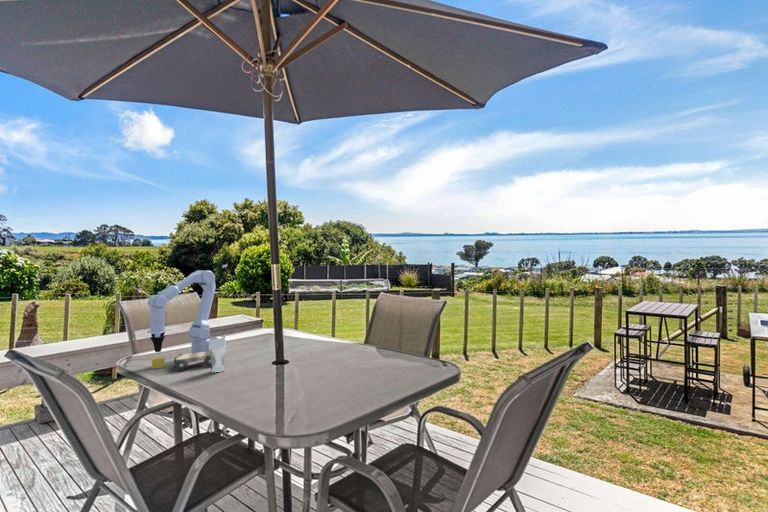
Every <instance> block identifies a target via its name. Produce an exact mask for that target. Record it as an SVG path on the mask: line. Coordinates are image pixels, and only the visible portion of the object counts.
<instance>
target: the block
mask: <svg viewBox="0 0 768 512" xmlns="http://www.w3.org/2000/svg"><path fill="white" fill-rule="evenodd" d="M165 362H166V361H165V356H163V355H162V356H156V357H152V358H151V369H152V370H155V369H154V368H158V369H164V368H163V367H165V368H166V366H165V365H166V363H165Z"/></svg>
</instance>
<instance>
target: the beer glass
mask: <svg viewBox="0 0 768 512" xmlns="http://www.w3.org/2000/svg"><path fill="white" fill-rule="evenodd" d="M208 339H209V354H210V359H211V367H210V373H211V372H213V373H212V374H217V373H216V372H221V373H223V372H222V371H224V370H225V371H226V366H225V357H226V353H227V352H226V351H227V344H226V336H225V335H216V336H211V337H210V336H209V337H208ZM225 371H224V372H225ZM214 372H215V373H214Z"/></svg>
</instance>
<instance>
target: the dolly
mask: <svg viewBox="0 0 768 512" xmlns="http://www.w3.org/2000/svg"><path fill="white" fill-rule="evenodd" d="M173 361H174V367H175V368H174V369H175V370H176V371H178V372H184V371H185V370H186V369H187V368H188V366H189V365H188V364H189V363H188V362H195V361H204V365H205V366H206V367H208V366H211V359H210V354H209V351H206V352H199V353H192V352H190V353H185V354H183V353H179V354H177V355H175V356H174V359H173ZM183 370H184V371H183Z"/></svg>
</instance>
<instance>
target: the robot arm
mask: <svg viewBox="0 0 768 512" xmlns="http://www.w3.org/2000/svg"><path fill="white" fill-rule="evenodd" d="M215 279H216V275H215V274H214V273H213V271H212V270H209V269H208V270H202V269H201V270H199V269H198V270H195V271H194V272H191V273H190V274H189V275H188V276H187V277H185V278H184V279H182V280H181V281H179V282H178V283H177V284H175V285H173V284H172V285H166V286H165V288H164V289H163V290H161V291H158V292H156V293H157V294H152V295H151V296H150V297H149V298H148V300H147V301H146V302H147V305H148V306H149V311H150V312H149V316H150V317H149V318H150V319H149V320H150V322H149V324H150V330H148V331H147V334H150V335H151V336H150V341H151V342H152V345H153V349H154V352H155V353H161V351H162V346H163V342H164V340H165V332H166V327H165V326H166V325H165V324H166V323H165V322H166V321H165V319H166V318H165V307H166V306H167V303H168V302H169V301H172V300H173V299H174V298H176V297H177V296H179V294H180V291H182V290H184V289H186V288H188V287H189V286H190V285H193V284H195V283H196V284H198V285H199V286H200V287H201V288H202V289H203V291H202V296H201V299H200V303H199V307H198V310H197V315H196V319H195V320H194V321H193V322H192V323H191V326H190V327H189V329H188V333H187V334H188V336H189V337H190V341H191V345H190V348H191V353H199V352H206V351H209V338H210V332H211V331H210V326H211V325H210V323H209V317H210V313H211V308H212V306H213V300H214V298H215V292H216V290H217V289H216V287H217V285H216V281H215Z"/></svg>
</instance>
